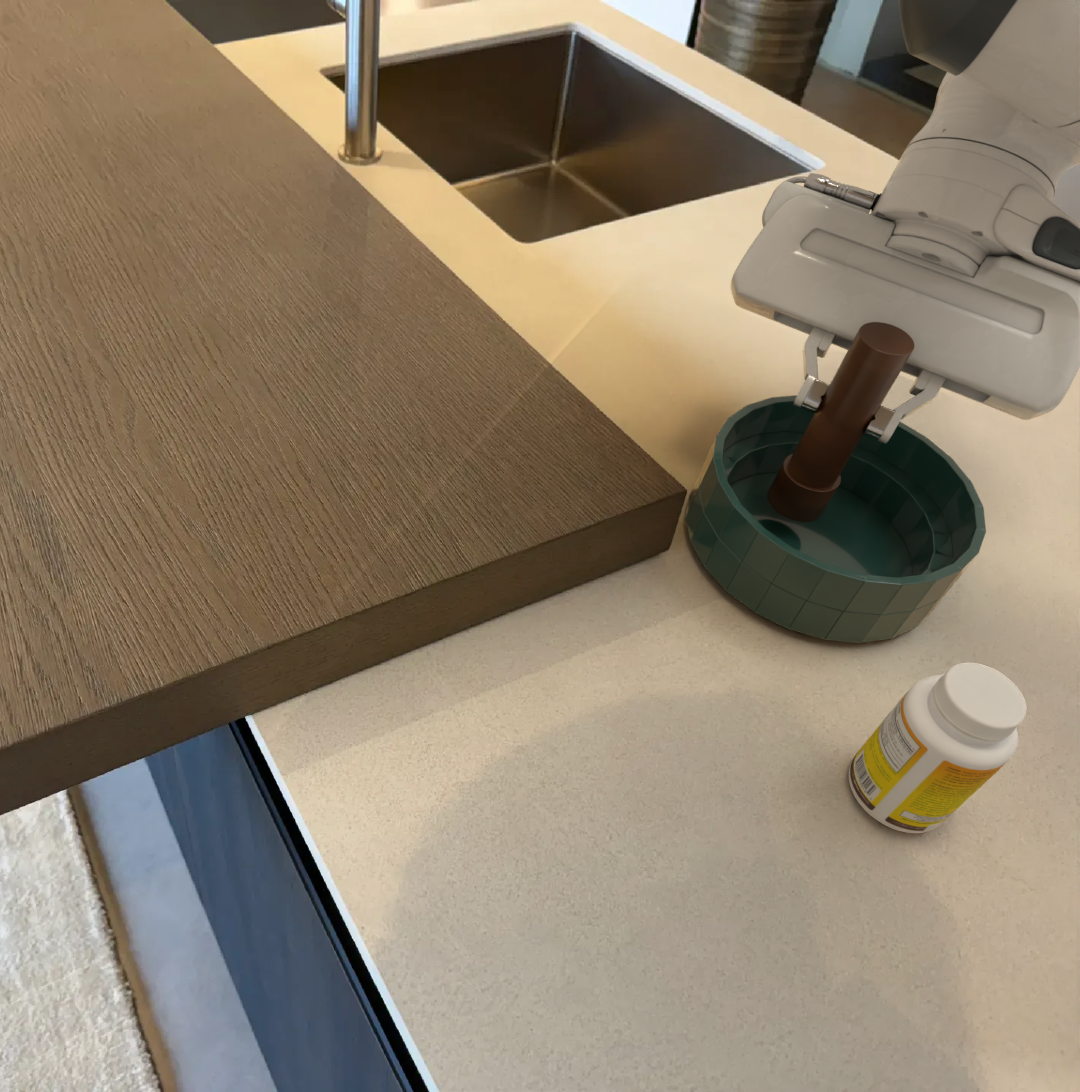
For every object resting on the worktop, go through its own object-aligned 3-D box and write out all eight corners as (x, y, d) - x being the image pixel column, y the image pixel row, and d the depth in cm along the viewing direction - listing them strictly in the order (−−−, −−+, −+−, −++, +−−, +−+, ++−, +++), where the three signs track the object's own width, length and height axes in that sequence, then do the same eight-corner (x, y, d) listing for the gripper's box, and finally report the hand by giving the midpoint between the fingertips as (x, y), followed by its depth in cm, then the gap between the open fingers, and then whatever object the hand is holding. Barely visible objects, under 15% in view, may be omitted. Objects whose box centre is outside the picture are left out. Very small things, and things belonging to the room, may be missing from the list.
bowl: (959, 530, 74) (1008, 465, 69) (900, 692, 64) (952, 630, 59) (732, 430, 80) (763, 363, 75) (645, 565, 70) (674, 499, 65)
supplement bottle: (961, 801, 59) (1065, 704, 52) (910, 856, 57) (1011, 762, 49) (877, 733, 62) (964, 631, 54) (824, 783, 59) (907, 683, 52)
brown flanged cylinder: (829, 498, 72) (927, 335, 61) (813, 530, 70) (911, 366, 59) (777, 475, 73) (863, 310, 63) (759, 505, 71) (846, 340, 60)
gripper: (790, 143, 64) (684, 347, 66) (1147, 264, 57) (1018, 487, 59) (785, 182, 70) (688, 368, 71) (1108, 295, 63) (992, 497, 65)
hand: (839, 423), depth 65 cm, fingers closed on brown flanged cylinder, 3 cm apart
